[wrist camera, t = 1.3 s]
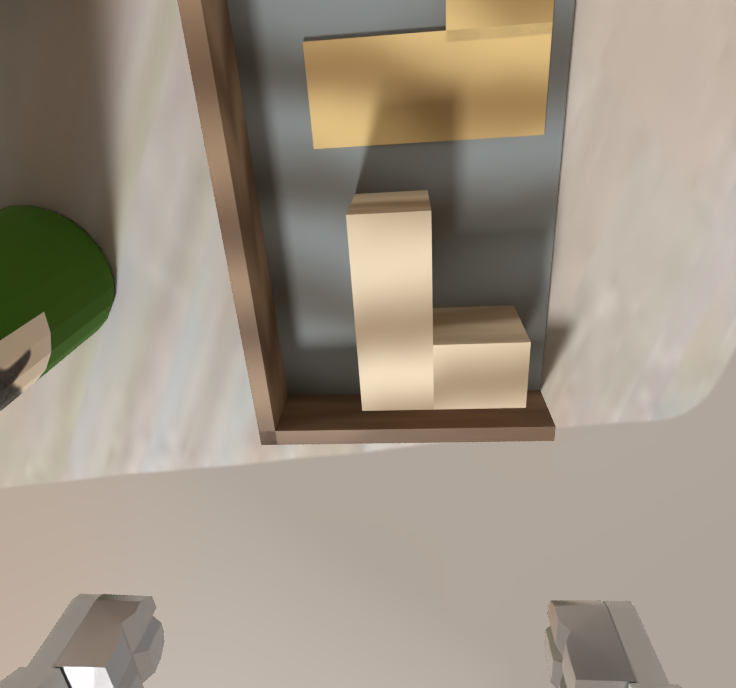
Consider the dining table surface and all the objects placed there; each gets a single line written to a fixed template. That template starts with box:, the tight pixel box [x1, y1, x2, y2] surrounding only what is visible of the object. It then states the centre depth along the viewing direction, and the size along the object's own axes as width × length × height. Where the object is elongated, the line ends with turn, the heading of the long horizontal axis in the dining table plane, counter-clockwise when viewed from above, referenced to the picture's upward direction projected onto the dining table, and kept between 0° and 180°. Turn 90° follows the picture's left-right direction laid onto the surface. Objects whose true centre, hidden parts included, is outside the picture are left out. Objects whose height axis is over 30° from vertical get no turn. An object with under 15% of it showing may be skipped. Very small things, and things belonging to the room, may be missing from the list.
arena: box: [177, 0, 575, 445], centre depth 28 cm, size 27×18×5 cm, turn 4°
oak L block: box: [346, 190, 531, 411], centre depth 30 cm, size 11×9×5 cm
